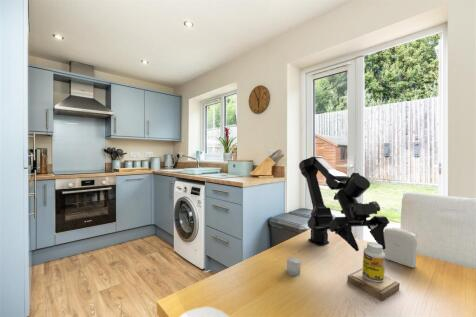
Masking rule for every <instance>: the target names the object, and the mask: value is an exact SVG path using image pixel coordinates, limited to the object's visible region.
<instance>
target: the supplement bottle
mask: <svg viewBox="0 0 476 317" xmlns="http://www.w3.org/2000/svg"><path fill="white" fill-rule="evenodd" d="M362 257H363V258H362V268H363V269H362V268H361V269H362V274H363V276H364V277H365V278H366V279H368V280H370V281H373V282H382V281H383V279H384V276H385V266H386V264H385V263H386V259H385V254H384V252H383V247H382V245H380V244H378V243H377V242H372V241H368V242H367V244H366V247H364V249H363V256H362Z"/></svg>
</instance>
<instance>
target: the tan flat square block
mask: <svg viewBox="0 0 476 317" xmlns="http://www.w3.org/2000/svg"><path fill="white" fill-rule="evenodd" d="M362 269H363V267H362V268H360V269H358V270H356V271H354V272H352V273H350V274H348V275H347V279H346V280H347V281H346V282H347V283H349V284H350V285H353V286H354V287H356V288H358V289H360V290H361V291H364V292H365V293H368V294H369V295H370V296H372V297H373V298H374V297H375V298H376V299H378V300H380V301H381V302H382V301H385V300H386V299H387V298H389V297H390V296H392V295H393V294H395V293H396V292H397V291H399V290H400V282H399V281H397V280H394V279H392V278H390V277H388V276H386V275H384V279H383V281H382V282H373V281H370V280H368V279H366V278H365V277H364V276H363V274H362Z"/></svg>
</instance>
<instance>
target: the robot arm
mask: <svg viewBox="0 0 476 317" xmlns="http://www.w3.org/2000/svg"><path fill="white" fill-rule="evenodd" d="M298 164H299V165H298V168H299V170H300V173H301V175H302V176H303V177H304V178H305V179H306V183H307V188H308V192H309V196H310V200H311V204H312V210H311V212H310V218H309V219H308V220H307V227H308V228H309V229H310V238H308V239H307V240H308V241H309V242H311V243H313V244H315V245H318V246H323V245H326V244H329V243H330V241H329V240H328V238H329V233H328V230H330V232H331V233H334V234H335V235H338V236H339V237H340V238H342V240H344V241H345V242H347V244H348V245H349V246H350V247H351V248H352V249H354V251H356V252H358V251H359V250H360V248H359V245H358V243H357V241H356V239H355V236H354V233H353V230H352V228H353V227H354V228H355V227H367V228H368V229H369V233H370V234H371V236H372V237H373V239H374V241H375V243H378V244H380V245H382V247H383V249H382V250H384V249H385V248H386V247H385V240H384V230H385V228H387V227H388V225H389V224H390V221H389V219H388V217H387V216H385V215H378V212H381V206H380V205H379V203H378V202H377V201H370V202H368V203H362V202H359V201H358V200H357V198H360V197H361V196H362V195H363V194H364V193H365V192H366V191H367V190H368V189H369V188H370V187H371V182H370V180H369V179H367V178H366V177H365V176H363V175H361V174H360V173H359V172H352V173H351V175H350V176H349V175H347V174H346V173H345V172H341V171H338V170H337V169H335V168H334V167H333V166H332V165H331V164H330V163H328V162H327V161H326V160H325V158H324V157H323V156H319V155H313V156H311V157H308V158H306V159H302V160H301V161H300V162H299V163H298ZM318 172H320V174H322V176H323V177H324V178H325V184H326V185H327V186H328V188H329V189H330V190H332V191H334V190H335V191H337V190H338V191H337V192H334V196H333V200H334V201H338V203H339V205H340V208H341V210H340V213H341V215H344V216H335V217H334V218H333V214H332V210H331V208H330V207H327V206H326V205H325V203H324V199H323V196H322V192H321V187H320V183H319V180H318ZM371 215H374V216H372V217H371ZM370 217H371V218H370ZM369 218H370V219H369Z"/></svg>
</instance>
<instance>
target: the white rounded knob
mask: <svg viewBox="0 0 476 317" xmlns="http://www.w3.org/2000/svg"><path fill="white" fill-rule="evenodd" d="M301 263H302V262H301V260H300V259H299V258H297V257H287V259H286V274H287V275H289V276H291V277H298V276H299V277H300V275H301Z"/></svg>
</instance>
